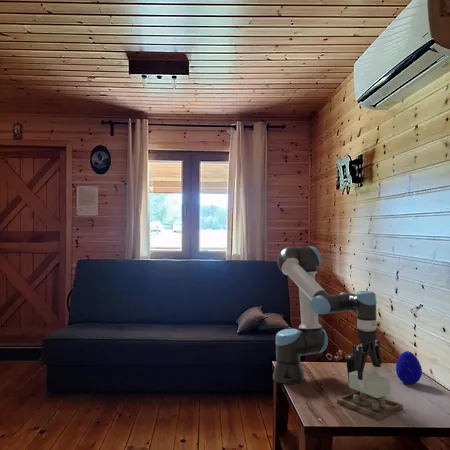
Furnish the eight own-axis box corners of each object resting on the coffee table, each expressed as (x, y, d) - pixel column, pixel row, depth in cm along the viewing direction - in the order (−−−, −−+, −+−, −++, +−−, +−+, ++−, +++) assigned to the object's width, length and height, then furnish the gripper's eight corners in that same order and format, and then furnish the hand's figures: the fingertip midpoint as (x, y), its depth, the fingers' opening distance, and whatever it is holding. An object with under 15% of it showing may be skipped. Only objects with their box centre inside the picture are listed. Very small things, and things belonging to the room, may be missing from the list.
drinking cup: (364, 390, 185) (363, 345, 185) (346, 389, 186) (345, 345, 187) (362, 383, 192) (361, 341, 192) (345, 383, 194) (344, 340, 194)
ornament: (424, 383, 192) (423, 350, 192) (418, 389, 185) (417, 355, 185) (399, 378, 199) (398, 347, 199) (393, 383, 192) (392, 351, 192)
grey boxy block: (390, 393, 164) (389, 378, 164) (377, 398, 160) (376, 382, 160) (361, 383, 176) (361, 369, 176) (349, 387, 172) (348, 372, 172)
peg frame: (336, 403, 171) (336, 394, 171) (360, 393, 181) (360, 385, 181) (378, 420, 155) (378, 411, 155) (402, 409, 164) (402, 400, 164)
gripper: (358, 335, 159) (360, 393, 159) (390, 327, 171) (391, 381, 171) (343, 331, 165) (344, 387, 165) (374, 323, 177) (375, 376, 177)
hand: (368, 384), depth 168 cm, fingers closed on grey boxy block, 8 cm apart
